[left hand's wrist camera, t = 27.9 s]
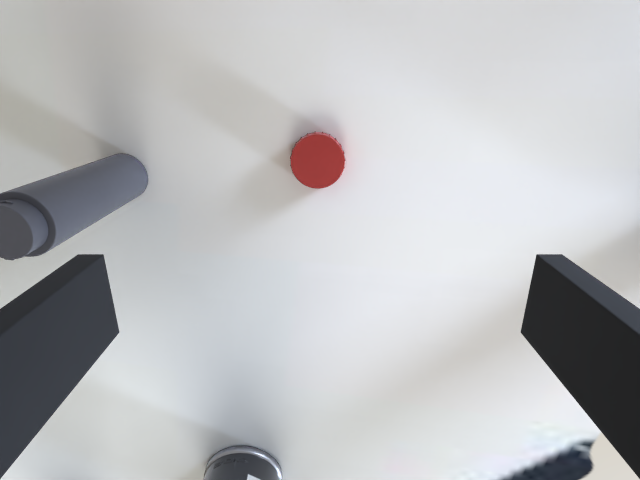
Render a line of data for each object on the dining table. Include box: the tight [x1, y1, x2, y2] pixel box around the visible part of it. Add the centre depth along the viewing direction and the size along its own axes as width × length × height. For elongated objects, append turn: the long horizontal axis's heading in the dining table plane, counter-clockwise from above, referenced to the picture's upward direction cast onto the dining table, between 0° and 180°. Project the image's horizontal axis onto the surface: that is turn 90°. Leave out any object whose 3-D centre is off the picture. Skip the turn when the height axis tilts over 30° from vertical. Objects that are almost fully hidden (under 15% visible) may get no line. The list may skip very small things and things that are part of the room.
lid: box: [290, 132, 345, 188], centre depth 36 cm, size 5×5×2 cm
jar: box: [0, 154, 148, 260], centre depth 30 cm, size 4×4×16 cm
